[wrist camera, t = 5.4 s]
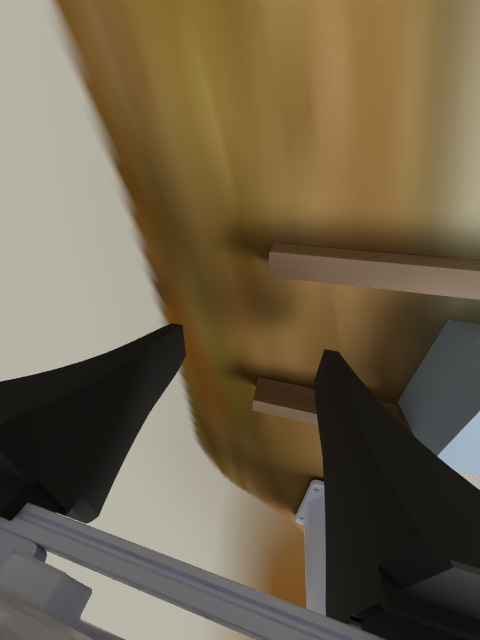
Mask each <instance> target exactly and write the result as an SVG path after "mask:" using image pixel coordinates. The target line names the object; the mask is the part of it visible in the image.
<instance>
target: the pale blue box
mask: <svg viewBox="0 0 480 640" xmlns="http://www.w3.org/2000/svg"><path fill="white" fill-rule="evenodd" d="M398 404H399V406H400V408H401V410H402V412H403V414H404V416H405V418H406V420H407V422H408V424H409V426H410V428H411V430H412V432H413V434H414V436H415V437H416V438H417V439H418V440H419V441H420V442H421V443H422V444H424V445H425V446H426V447H427V448H428V449H429V450H431V451H432V452H433V453H434V454H435V455H436V456H438V457H439V458H440V459H441V460H442V461H443V462H445V463H446V464H447V465H448V466H450V467H451V468H452V469H453V470H455V471H457V472H461V473H465V474H470V475H474V476H478V477H480V323H473V322H465V321H456V320H448V321H447V322H446V324H445V326H444V327H443V329H442V330H441V332H440V334H439V335H438V337H437V339H436V340H435V342H434V343H433V345H432V347H431V348H430V350H429V352H428V353H427V355H426V356H425V358H424V360H423V361H422V363H421V365H420V366H419V368H418V369H417V371H416V373H415V374H414V376H413V378H412V379H411V381H410V382H409V384H408V386H407V387H406V389H405V391H404V392H403V394H402V395H401V397H400V399H399V400H398Z"/></svg>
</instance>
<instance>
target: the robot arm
mask: <svg viewBox="0 0 480 640" xmlns="http://www.w3.org/2000/svg"><path fill="white" fill-rule="evenodd" d="M185 356H186V352H185V343H184V335H183V326H182V325H179V324H173V323H172V324H169V325H167V326H164V327H162V328H160V329H158V330H156V331H154V332H152V333H150V334H147V335H145V336H143V337H142V338H139V339H137V340H135V341H133V342H130V343H128V344H126V345H124V346H121V347H119V348H117V349H114V350H112V351H109V352H107V353H104V354H102V355H99V356H96V357H93V358H90V359H88V360H85V361H81V362H79V363H75V364H71V365H68V366H65V367H62V368H58V369H54V370H50V371H46V372H42V373H38V374H34V375H30V376H25V377H21V378H16V379H11V380H6V381H1V382H0V640H125V639H122V638H120V637H118V636H116V635H114V634H112V633H110V632H107V631H105V630H103V629H101V628H99V627H97V626H94V625H92V624H90V623H88V622H86V621H83V620H81V619H80V616H81V613H82V611H83V609H84V607H85V606H86V603H87V602H88V600H89V598H90V596H91V594H92V589H91V588H89V587H87V586H85V585H84V584H82V583H80V582H78V581H76V580H75V579H73V578H71V577H70V576H69V575H67V574H66V573H65V572H63V571H61V570H59V569H56V568H54V567H52V566H50V565H48V564H46V563H45V560H46V557H47V553H46V551H48V552H51V553H53V554H55V555H58V556H60V557H63V558H65V559H68V560H70V561H72V562H74V563H77V564H79V565H81V566H84V567H86V568H88V569H91V570H93V571H95V572H98V573H100V574H103V575H105V576H107V577H110V578H112V579H114V580H117V581H119V582H121V583H124V584H126V585H129V586H131V587H133V588H136V589H138V590H140V591H143V592H145V593H147V594H150V595H152V596H154V597H157V598H159V599H162V600H164V601H166V602H169V603H171V604H174V605H176V606H178V607H181V608H183V609H185V610H187V611H190V612H192V613H195V614H197V615H199V616H202V617H204V618H206V619H209V620H211V621H213V622H216V623H218V624H221V625H223V626H225V627H228V628H230V629H233V630H235V631H237V632H239V633H242V634H244V635H246V636H249V637H251V638H253V639H256V640H480V490H479V489H477V488H476V487H475V486H474V485H472V484H471V483H470V482H468V481H467V480H466V479H465V478H463V477H462V476H461V475H460V474H458V473H457V472H456V471H455V470H453V469H452V468H451V467H450V466H448V465H447V464H446V463H445V462H443V461H442V460H441V459H440V458H439V457H438V456H436V455H435V454H434V453H433V452H432V451H431V450H429V449H428V448H427V447H426V446H425V445H424V444H422V443H421V442H420V441H419V440H418V439H417V438H416V437H415V436H414V435H412V434H411V433H410V432H409V431H408V430H407V429H406V428H405V427H404V426H403V425H402V424H401V423H400V422H399V421H398V420H397V419H396V418H395V417H394V416H393V415H392V414H391V413H390V412H389V411H388V410H387V409H386V408H385V407H384V406H383V405H382V404H381V403H380V402H379V401H378V400H377V398H376V397H375V396H374V395H373V394H372V393H371V392H370V391H369V389H368V388H367V387H366V386H365V385H364V384H363V382H362V381H361V380H360V379H359V378H358V376H357V375H356V374H355V373H354V371H353V370H352V369H351V367H350V366H349V365H348V364H347V362H346V361H345V360H344V358H343V357H342V356H341V354H340V353H339V352H337V351H331V350H325V349H324V352H323V356H322V359H321V362H320V365H319V368H318V371H317V374H316V377H315V380H314V382H315V406H316V413H317V420H318V427H319V434H320V440H321V447H322V456H323V473H324V482H323V481H320V480H312V481H311V483H310V486H309V488H308V490H307V492H306V494H305V496H304V499H303V501H302V503H301V505H300V507H299V509H298V512H297V514H296V516H295V521H296V522H297V523H300V524H303V525H304V530H305V569H306V602H307V609H305V608H303V607H300V606H297V605H295V604H292V603H289V602H287V601H284V600H282V599H279V598H276V597H274V596H271V595H268V594H266V593H263V592H261V591H258V590H256V589H253V588H250V587H248V586H245V585H242V584H240V583H237V582H235V581H232V580H229V579H227V578H224V577H222V576H219V575H216V574H213V573H211V572H208V571H206V570H203V569H201V568H198V567H195V566H193V565H190V564H187V563H185V562H182V561H180V560H177V559H174V558H172V557H169V556H167V555H164V554H161V553H158V552H156V551H153V550H151V549H148V548H146V547H143V546H140V545H138V544H135V543H133V542H130V541H127V540H124V539H122V538H119V537H117V536H114V535H112V534H109V533H106V532H104V531H101V530H99V529H96V528H93V527H91V526H88V525H85V524H83V523H89V522H91V521H93V520H94V519H95V518H97V517H98V516H99V514H100V512H101V509H102V507H103V504H104V502H105V500H106V498H107V496H108V493H109V491H110V489H111V487H112V485H113V482H114V480H115V478H116V476H117V474H118V472H119V470H120V468H121V466H122V464H123V461H124V460H125V457H126V455H127V453H128V451H129V450H130V448H131V446H132V444H133V442H134V440H135V438H136V436H137V434H138V432H139V431H140V429H141V427H142V425H143V423H144V422H145V420H146V418H147V416H148V414H149V413H150V411H151V410H152V408H153V406H154V405H155V404H156V402H157V401H158V399H159V398H160V396H161V395H162V393H163V392H164V391H165V389H166V388H167V386H168V385H169V384H170V382H171V380H172V379H173V378H174V376H175V375H176V373H177V372H178V370H179V368H180V366H181V364H182V362H183V360H184V358H185ZM57 513H59V514H62V515H64V516H67V517H70V518H73V519H75V520H78V521H81V522H83V523H80V522H77V521H75V520H72V519H70V518H67V517H64V516H62V515H59V514H57ZM45 550H46V551H45Z"/></svg>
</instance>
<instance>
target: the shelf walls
mask: <svg viewBox="0 0 480 640" xmlns="http://www.w3.org/2000/svg"><path fill="white" fill-rule="evenodd" d="M267 276H272V277H280V278H289V279H298V280H307V281H316V282H325V283H334V284H343V285H352V286H361V287H369V288H378V289H387V290H396V291H405V292H414V293H423V294H432V295H441V296H450V297H458V298H467V299H476V300H480V260H468V259H456V258H444V257H433V256H421V255H409V254H397V253H385V252H373V251H361V250H349V249H337V248H325V247H314V246H302V245H290V244H278V243H274V244H273V246H272V248H271V250H270V252H269V261H268V270H267ZM379 402H380V401H379ZM380 403H381V404H382V405H383V406H384V407H385V408H386V409H387V410H388V411H389V412H390V413H391V414H392V415H393V416H394V417H395V418H396V419H397V420H398V421H399V422H400V423H401V424H402V425H403V426H404V427H405V428H406V429H407V430H408V431H409V432H410V433H411V434H412V435H414V434H413V432H412V430H411V428H410V426H409V424H408V422H407V420H406V418H405V416H404V414H403V412H402V410H401V408H400V406H399V405H395V404H390V403H385V402H380ZM252 411H257V412H261V413H265V414H270V415H274V416H278V417H283V418H287V419H291V420H296V421H300V422H305V423H309V424H313V425H318V420H317V413H316V406H315V388H310V387H305V386H300V385H295V384H290V383H285V382H280V381H275V380H270V379H265V378H260V377H258V380H257V385H256V390H255V395H254V399H253V408H252Z"/></svg>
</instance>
